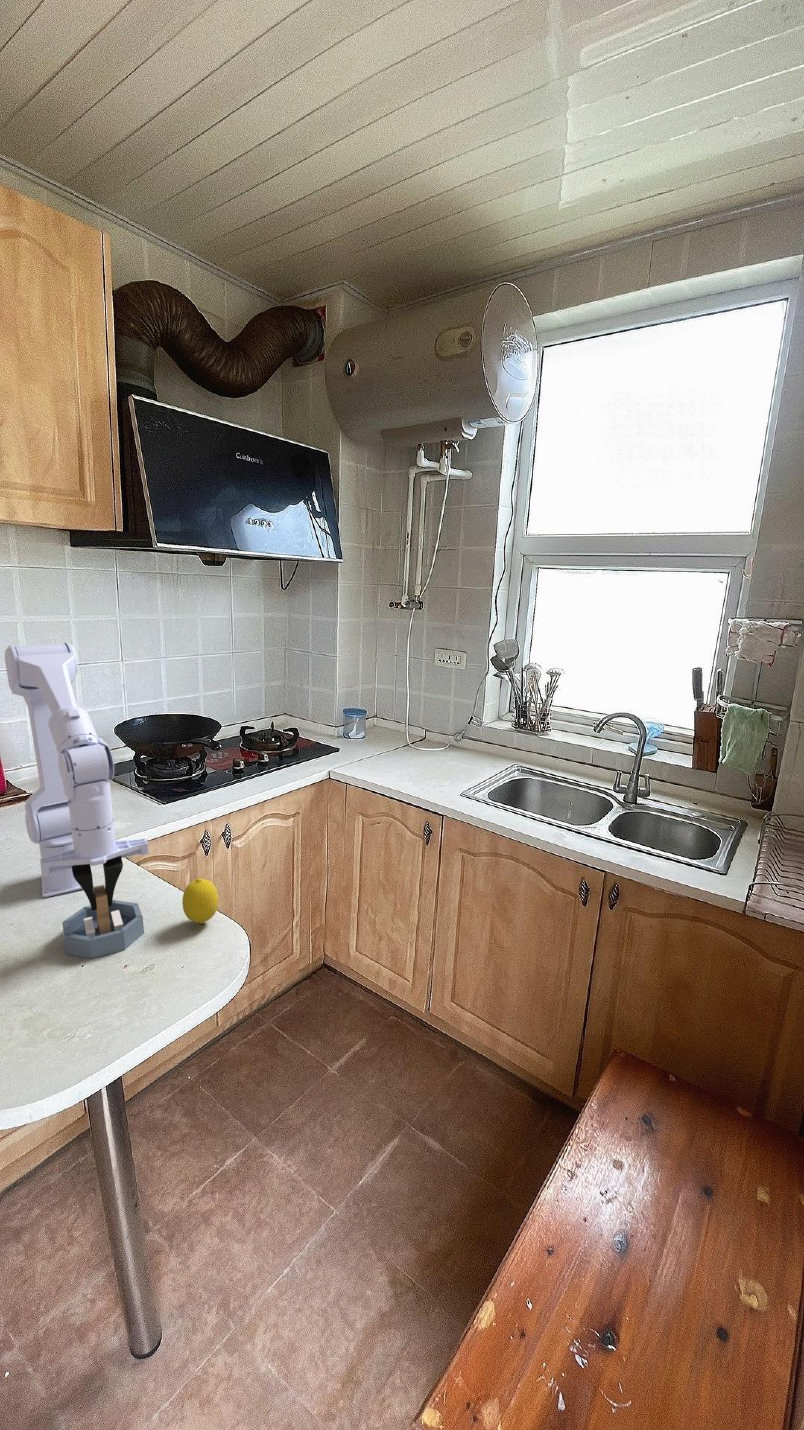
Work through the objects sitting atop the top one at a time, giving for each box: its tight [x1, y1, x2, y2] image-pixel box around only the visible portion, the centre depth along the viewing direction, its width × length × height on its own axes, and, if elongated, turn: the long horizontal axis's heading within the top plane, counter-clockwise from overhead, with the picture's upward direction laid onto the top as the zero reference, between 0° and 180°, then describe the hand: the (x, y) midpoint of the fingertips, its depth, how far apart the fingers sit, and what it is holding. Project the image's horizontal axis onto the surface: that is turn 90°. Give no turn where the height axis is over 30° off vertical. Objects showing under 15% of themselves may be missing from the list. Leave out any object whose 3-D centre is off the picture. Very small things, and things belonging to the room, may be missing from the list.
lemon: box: [181, 877, 219, 925], centre depth 98 cm, size 6×6×8 cm
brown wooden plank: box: [93, 884, 111, 935], centre depth 94 cm, size 4×2×7 cm, turn 32°
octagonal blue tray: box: [61, 899, 145, 960], centre depth 94 cm, size 11×11×3 cm
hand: (101, 905), depth 93 cm, fingers closed on brown wooden plank, 1 cm apart
